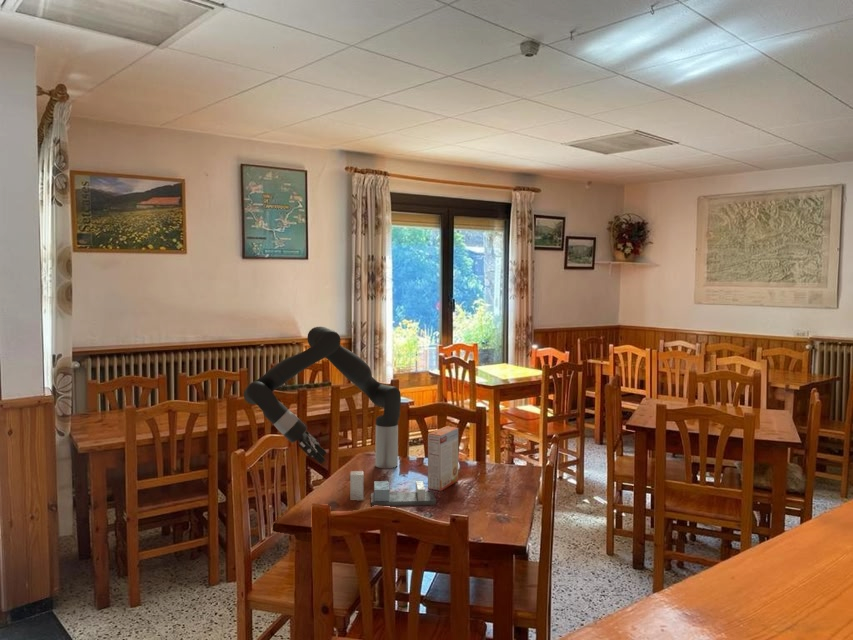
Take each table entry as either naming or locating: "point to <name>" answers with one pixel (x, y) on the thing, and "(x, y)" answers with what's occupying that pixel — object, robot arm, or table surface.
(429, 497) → the vise bed
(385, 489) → the sliding jaw
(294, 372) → the robot arm
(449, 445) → the cracker box
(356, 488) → the steel block
